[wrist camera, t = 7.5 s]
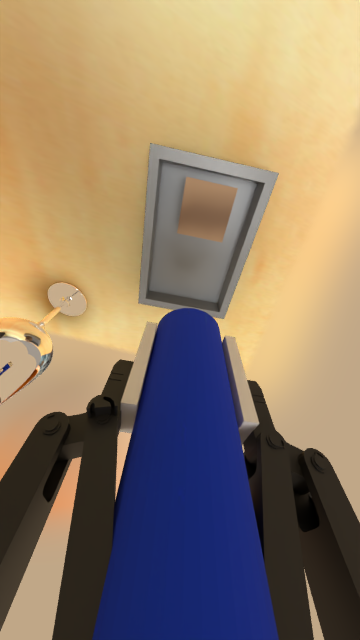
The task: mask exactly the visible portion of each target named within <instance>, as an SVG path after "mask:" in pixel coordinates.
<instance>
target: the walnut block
mask: <svg viewBox="0 0 360 640" xmlns="http://www.w3.org/2000/svg"><path fill="white" fill-rule="evenodd" d="M237 190H238V188H234V187H230V186H225V185H221V184H216V183H212V182H208V181H203V180H199V179H194V178H190V177H186V182H185V188H184V194H183V200H182V206H181V212H180V218H179V224H178V231H177V233H179V234H183V235H188V236H193V237H198V238H203V239H207V240H212V241H217V242H222V241H223V238H224V234H225V231H226V228H227V224H228V221H229V217H230V214H231V211H232V207H233V204H234V200H235V197H236V193H237Z"/></svg>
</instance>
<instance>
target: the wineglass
mask: <svg viewBox="0 0 360 640" xmlns="http://www.w3.org/2000/svg"><path fill="white" fill-rule="evenodd" d="M48 299H49V301H50V303H51V304H52V306H53V307H54V308H55V309H53V310H52V311H51V312H50V313H49V314H48V315H47V316H46V317H44V318H43V319H42V320H41V321H40V322H33V321H30V320H27V319H23V318H16V317H3V318H0V405H1V404H3V403H4V402H5V401H7V400H8V399H10V398H11V397H12V396H14V395H15V394H16V393H18V392H19V391H20V390H22V389H23V388H24V387H25V386H27V385H28V384H30V383H31V382H32V381H33V380H35V379H36V378H37V377H38V376H39V375H41V374H42V373H43V372H44V371H45V370H46V368H47V367H48V366H49V364H50V362H51V360H52V356H53V345H52V341H51V339H50V337H49V335H48V333H47V332H46V330H45V325H46V324H47V323H48V322H49V321H50V320H51V319H52V318H53V317H54V316H55V315H56V314H57V313H58V312H61V313H63V314H65V315H68V316H78V315H81V314H83V313H84V312H85V310H86V308H87V301H86V298H85V296H84V295H83V293H82V292H81V291H80V290H79V289H78V288H76V287H75V286H73V285H71V284H69V283H64V282H58V283H55V284H53V285H52V286H50V288H49V290H48Z"/></svg>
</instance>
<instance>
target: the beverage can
mask: <svg viewBox="0 0 360 640" xmlns="http://www.w3.org/2000/svg"><path fill="white" fill-rule="evenodd" d="M92 640H279V638H278V632H277V627H276V622H275V617H274V612H273V606H272V601H271V596H270V591H269V586H268V580H267V575H266V570H265V564H264V559H263V554H262V548H261V543H260V538H259V533H258V528H257V522H256V517H255V512H254V507H253V502H252V497H251V491H250V486H249V481H248V476H247V471H246V465H245V460H244V455H243V450H242V445H241V439H240V434H239V429H238V424H237V419H236V414H235V408H234V403H233V398H232V393H231V388H230V382H229V377H228V372H227V367H226V362H225V357H224V351H223V346H222V341H221V336H220V331H219V327H218V324H217V322H216V321H215V320H214V318H213V317H212V316H210V315H209V314H208V313H206V312H204V311H202V310H199V309H195V308H181V309H177V310H174V311H172V312H170V313H168V314H167V315H165V316H164V317H163V318H162V319H161V321H160V322H159V324H158V327H157V331H156V335H155V339H154V344H153V348H152V352H151V356H150V360H149V364H148V368H147V372H146V377H145V381H144V385H143V389H142V393H141V397H140V401H139V406H138V410H137V414H136V418H135V422H134V426H133V430H132V434H131V439H130V443H129V447H128V451H127V455H126V459H125V463H124V468H123V472H122V476H121V480H120V484H119V488H118V492H117V496H116V500H115V505H114V520H113V540H112V551H111V556H110V561H109V565H108V570H107V574H106V579H105V583H104V588H103V592H102V597H101V602H100V606H99V611H98V615H97V620H96V624H95V629H94V633H93V638H92Z"/></svg>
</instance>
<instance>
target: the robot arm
mask: <svg viewBox="0 0 360 640" xmlns="http://www.w3.org/2000/svg"><path fill="white" fill-rule="evenodd" d="M156 329H157V323H152V322H147V324H146V327H145V330H144V333H143V336H142V339H141V342H140V345H139V348H138V351H137V354H136V357H135V360H134V362H131V361H126V360H119V361H118V362H117V363H116V364H115V365H114V367H113V369H112V371H111V374H110V376H109V378H108V380H107V383H106V385H105V387H104V390H103V392H102V394H101V395H98V396H96V397H95V398H93V399H92V400H91V401H90V402H89V403H88V406H87V412H86V413H83V414H79V415H73V416H67V415H66V414H65V413H62V412H53V413H50V414H47V415H46V416H44V417H43V418H41V419H40V420H39V422H38V423H37V424H36V425H35V427H34V429H33V430H32V432H31V433H30V435H29V436H28V438H27V440H26V441H25V443H24V444H23V446H22V448H21V449H20V451H19V452H18V454H17V456H16V457H15V459H14V460H13V462H12V463H11V465H10V467H9V468H8V470H7V472H6V473H5V475H4V476H3V478H2V479H1V481H0V631H1V628H2V626H3V623H4V621H5V619H6V616H7V614H8V611H9V609H10V607H11V604H12V602H13V599H14V597H15V595H16V592H17V590H18V587H19V585H20V583H21V580H22V578H23V575H24V573H25V571H26V568H27V566H28V563H29V561H30V559H31V556H32V554H33V551H34V549H35V547H36V544H37V542H38V539H39V537H40V535H41V532H42V530H43V527H44V525H45V523H46V520H47V518H48V515H49V513H50V511H51V508H52V506H53V504H54V501H55V499H56V496H57V494H58V492H59V489H60V487H61V484H62V482H63V479H64V477H65V475H66V472H67V470H68V467H69V465H70V463H71V461H72V459H73V458H77V457H82V458H81V465H80V470H79V476H78V483H77V489H76V496H75V501H74V508H73V513H72V520H71V526H70V532H69V539H68V544H67V551H66V557H65V563H64V570H63V576H62V582H61V588H60V594H59V600H58V606H57V613H56V619H55V625H54V631H53V638H52V640H92V638H93V633H94V629H95V624H96V620H97V615H98V611H99V606H100V602H101V597H102V592H103V588H104V583H105V579H106V574H107V570H108V565H109V561H110V556H111V551H112V540H113V520H114V505H115V491H116V465H117V437H118V434H119V431H120V432H127V433H132V430H133V426H134V422H135V418H136V414H137V410H138V406H139V401H140V397H141V393H142V389H143V385H144V381H145V377H146V372H147V368H148V364H149V360H150V356H151V352H152V348H153V344H154V339H155V335H156ZM222 346H223V351H224V357H225V362H226V367H227V372H228V377H229V382H230V388H231V393H232V398H233V403H234V408H235V414H236V419H237V424H238V429H239V434H240V439H241V445H242V444H243V445H244V449H245V452H244V453H243V455H244V460H245V465H246V471H247V476H248V481H249V486H250V491H251V497H252V502H253V507H254V512H255V517H256V522H257V528H258V533H259V538H260V543H261V548H262V554H263V559H264V564H265V570H266V575H267V580H268V586H269V591H270V596H271V601H272V606H273V612H274V617H275V622H276V627H277V632H278V638H279V640H314V638H313V630H312V623H311V616H310V609H309V601H308V594H307V587H306V580H305V573H306V576H307V580H308V583H309V587H310V590H311V594H312V597H313V601H314V604H315V608H316V611H317V615H318V619H319V622H320V626H321V629H322V633H323V637H324V640H360V523H359V521H358V519H357V517H356V515H355V513H354V511H353V508H352V506H351V504H350V502H349V500H348V498H347V496H346V494H345V492H344V490H343V488H342V486H341V484H340V481H339V479H338V477H337V475H336V473H335V471H334V469H333V467H332V465H331V464H330V462H329V461H328V459H327V458H326V457H325V456H324V455H323V454H322V453H321V452H319V451H318V450H316V449H313V448H308V449H306V450H305V451H302V450H300V449H298V448H296V447H294V446H292V445H290V444H289V443H287V442H286V441H285V440H284V438H283V437H282V436H281V435H280V434H279V433H278V432H277V431H276V430H275V428H274V425H273V422H272V419H271V416H270V413H269V410H268V408H267V405H266V402H265V399H264V396H263V393H262V390H261V388H260V387H259V385H258V384H257V382H255V381H250V380H247V378H246V375H245V371H244V368H243V364H242V361H241V357H240V354H239V350H238V347H237V343H236V340H235V337H230V336H225V337H224V340H223V342H222ZM304 569H305V573H304Z"/></svg>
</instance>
